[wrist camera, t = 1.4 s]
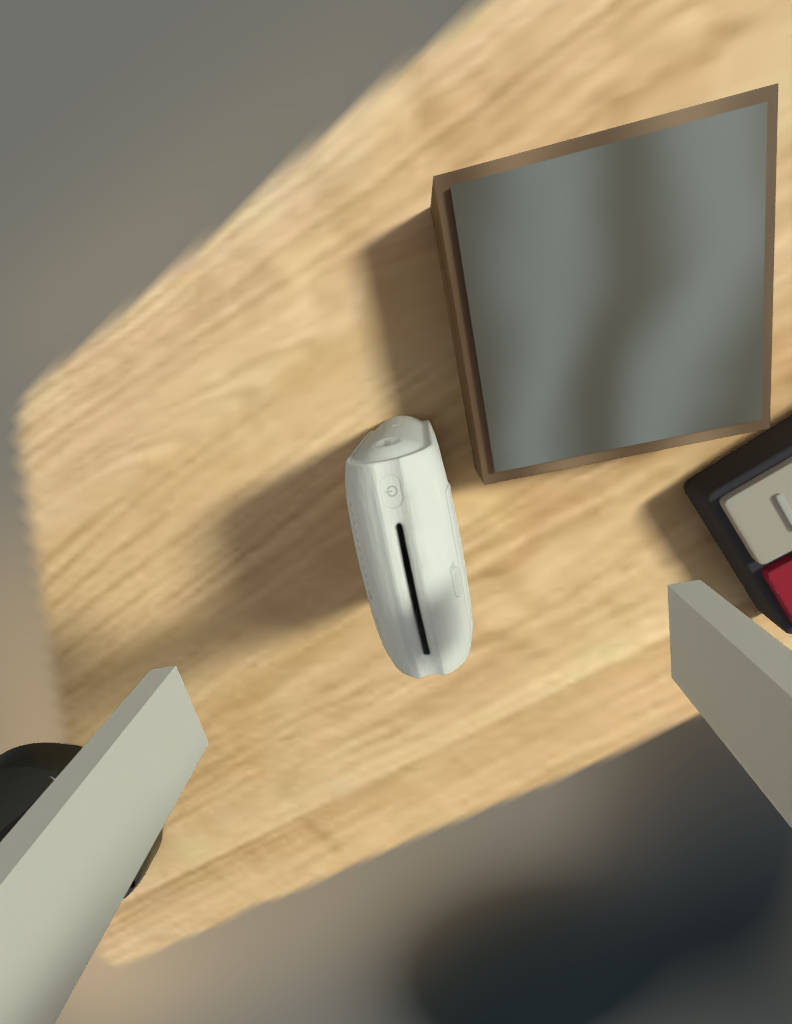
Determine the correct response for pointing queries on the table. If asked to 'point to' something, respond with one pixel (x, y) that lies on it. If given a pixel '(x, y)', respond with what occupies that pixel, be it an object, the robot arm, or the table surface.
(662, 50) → the table surface
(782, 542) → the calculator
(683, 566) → the table surface
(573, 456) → the mirror
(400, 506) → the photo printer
